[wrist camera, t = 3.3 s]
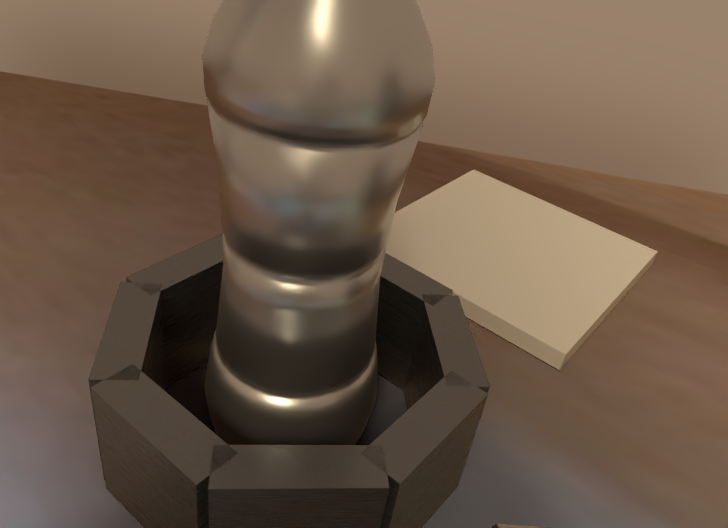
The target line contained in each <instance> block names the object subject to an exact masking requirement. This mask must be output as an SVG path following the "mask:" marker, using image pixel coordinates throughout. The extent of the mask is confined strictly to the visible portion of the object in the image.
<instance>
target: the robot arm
mask: <svg viewBox="0 0 728 528" xmlns="http://www.w3.org/2000/svg"><path fill="white" fill-rule="evenodd" d="M492 528H546V527H534V526H521V525H509V524H495V525H494V526H492Z"/></svg>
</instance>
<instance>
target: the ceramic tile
mask: <svg viewBox="0 0 728 528" xmlns="http://www.w3.org/2000/svg"><path fill="white" fill-rule="evenodd" d="M385 253H387V254H389V255H391V256H392V257H394V258H396V259H398V260H400V261H401V262H403V263H405V264H407V265H409V266H410V267H412V268H414V269H416V270H418V271H419V272H421V273H423V274H425V275H427V276H428V277H430V278H432V279H434V280H436V281H437V282H439V283H441V284H443V285H445V286H446V287H448V288H450V289H452V290H453V294H452V295H456V296H459V299H460V302H461V305H462V308H463V311H464V313H465V316H466V317H467V318H469V319H471V320H473V321H474V322H476V323H478V324H480V325H481V326H483V327H485V328H487V329H488V330H490V331H492V332H494V333H495V334H497V335H499V336H501V337H502V338H504V339H506V340H508V341H509V342H511V343H513V344H514V345H516V346H518V347H520V348H521V349H523V350H525V351H527V352H528V353H530V354H532V355H534V356H535V357H537V358H539V359H541V360H542V361H544V362H546V363H548V364H549V365H551V366H553V367H555V368H556V369H558V370H560V369H561V368H562V367H563V365H564V364H565V363H566V362H567V361H568V360H569V359H570V357H571V356H572V355H573V354H574V353H575V352H576V351H577V350H578V348H579V347H580V346H581V345H582V344H583V343H584V342H585V340H586V339H587V338H588V337H589V336H590V335H591V334H592V332H593V331H594V330H595V329H596V328H597V327H598V326H599V324H600V323H601V322H602V321H603V320H604V319H605V318H606V316H607V315H608V314H609V313H610V312H611V311H612V310H613V309H614V307H615V306H616V305H617V304H618V303H619V302H620V301H621V299H622V298H623V297H624V296H625V295H626V294H627V293H628V291H629V290H630V289H631V288H632V287H633V286H634V285H635V283H636V282H637V281H638V280H639V279H640V278H641V277H642V275H643V274H644V273H645V272H646V271H647V270H648V269H649V267H650V266H651V265H652V263H653V261H654V259H655V256H656V254H657V251H655V250H653V249H651V248H648V247H646V246H644V245H642V244H639V243H637V242H635V241H633V240H631V239H628V238H626V237H624V236H622V235H619V234H617V233H615V232H613V231H610V230H608V229H606V228H604V227H601V226H599V225H597V224H595V223H592V222H590V221H588V220H586V219H584V218H581V217H579V216H577V215H575V214H572V213H570V212H568V211H566V210H563V209H561V208H559V207H557V206H554V205H552V204H550V203H548V202H545V201H543V200H541V199H539V198H537V197H534V196H532V195H530V194H528V193H525V192H523V191H521V190H519V189H516V188H514V187H512V186H510V185H507V184H505V183H503V182H501V181H498V180H496V179H494V178H492V177H489V176H487V175H485V174H483V173H481V172H478V171H476V170H472V171H470V172H468V173H466V174H464V175H463V176H461V177H459V178H457V179H455V180H454V181H452V182H450V183H448V184H446V185H444V186H443V187H441V188H439V189H437V190H435V191H433V192H432V193H430V194H428V195H426V196H424V197H422V198H421V199H419V200H417V201H415V202H413V203H411V204H410V205H408V206H406V207H404V208H402V209H400V210H399V211H397V212H395V213H394V218H393V222H392V226H391V231H390V235H389V239H388V243H387V244H386V251H385Z"/></svg>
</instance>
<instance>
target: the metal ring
mask: <svg viewBox="0 0 728 528" xmlns="http://www.w3.org/2000/svg"><path fill="white" fill-rule="evenodd" d="M222 235H223V234H221V235H219V236H217V237H214V238H212V239H210V240H208V241H205V242H203V243H201V244H199V245H197V246H194V247H192V248H190V249H188V250H185V251H183V252H181V253H179V254H177V255H174V256H172V257H170V258H168V259H165V260H163V261H161V262H159V263H157V264H154V265H152V266H150V267H148V268H145V269H143V270H141V271H139V272H137V273H134V274H132V275H130V276H128V277H126V281H127V283H125V282H121V283H120V286H119V289H118V292H117V295H116V298H115V301H114V304H113V307H112V310H111V313H110V316H109V319H108V322H107V325H106V328H105V331H104V334H103V337H102V340H101V343H100V346H99V349H98V352H97V355H96V358H95V361H94V364H93V367H92V370H91V373H90V376H89V379H88V380H89V386H90V393H91V399H92V405H93V412H94V418H95V424H96V431H97V437H98V443H99V450H100V456H101V462H102V469H103V475H104V480H105V483H106V488H107V489H108V490H109V491H110V492H111V493H112V495H113V496H114V497H115V498H116V499H117V500H118V501H119V502H120V503H121V504H122V505H123V506H124V507H125V508H126V509H127V510H128V511H129V512H130V513H131V514H132V515H133V516H134V517H135V518H136V519H137V520H138V521H139V522H140V523H141V524H142V525H143V526H144V527H145V528H421V527H422V526H423V525H424V524H425V523H426V522H427V520H428V519H429V518H430V517H431V516H432V515H433V514H434V512H435V511H436V510H437V509H438V508H439V507H440V506H441V504H442V503H443V502H444V501H445V500H446V499H447V498H448V497H449V495H450V494H451V493H452V492H453V491H454V490H455V489H456V487H457V486H458V483H459V480H460V477H461V474H462V471H463V468H464V465H465V462H466V459H467V456H468V453H469V450H470V447H471V444H472V441H473V438H474V435H475V432H476V429H477V426H478V423H479V420H480V417H481V414H482V411H483V408H484V405H485V402H486V399H487V396H488V390H489V387H490V386H489V383H488V380H487V378H486V375H485V372H484V369H483V366H482V363H481V360H480V357H479V354H478V351H477V348H476V345H475V343H474V340H473V337H472V334H471V331H470V328H469V325H468V322H467V319H466V316H465V313H464V311H463V308H462V305H461V302H460V299H459V296H456V295H452V294H453V290H452V289H450V288H448V287H446V286H445V285H443V284H441V283H439V282H437V281H436V280H434V279H432V278H430V277H428V276H427V275H425V274H423V273H421V272H419V271H418V270H416V269H414V268H412V267H410V266H409V265H407V264H405V263H403V262H401V261H400V260H398V259H396V258H394V257H392V256H391V255H389V254H387V253H385V257H384V261H383V265H382V269H381V274H380V286H379V299H378V312H377V326H376V347H377V357H378V374H380V375H381V376H383V377H384V378H386V379H387V380H389V381H390V382H392V383H393V384H395V385H396V386H398V387H399V388H401V389H402V390H404V395H405V400H406V405H407V411H406V412H405V413H404V414H403V415H402V416H401V417H400V418H398V419H397V420H396V421H395V422H394V423H393V424H392V425H391V426H390V427H389V428H387V429H386V430H385V431H384V432H383V433H382V434H381V435H380V436H379V437H377V438H376V439H375V440H374V441H373V442H372V443H371V444H370V445H228V444H227V443H226V442H224V441H223V440H222V439H221V438H220V437H218V436H217V435H216V434H215V433H214V432H213V431H211V430H210V429H209V428H208V427H207V426H206V425H204V424H203V423H202V422H201V421H200V420H198V419H197V418H196V417H195V416H194V415H193V414H191V413H190V412H189V411H188V410H187V409H185V408H184V407H183V406H182V405H181V404H180V403H178V402H177V401H176V400H175V399H174V398H173V397H171V396H170V395H169V394H168V393H167V392H166V387H167V386H168V385H170V384H172V383H173V382H175V381H177V380H178V379H180V378H181V377H183V376H185V375H186V374H188V373H190V372H191V371H193V370H195V369H196V368H198V367H200V366H201V365H203V364H205V363H206V362H208V359H209V353H210V347H211V343H212V339H213V336H214V332H215V330H216V328H217V319H218V309H219V299H220V290H221V280H222V271H223V245H222Z"/></svg>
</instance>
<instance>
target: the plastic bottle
mask: <svg viewBox="0 0 728 528" xmlns="http://www.w3.org/2000/svg"><path fill="white" fill-rule="evenodd" d="M202 60H203V70H204V85H205V92H206V97H207V105H208V111H209V118H210V124H211V131H212V137H213V144H214V150H215V157H216V163H217V170H218V176H219V187H220V207H221V224H222V229H223V235H222V245H223V271H222V280H221V290H220V299H219V309H218V319H217V328H216V330H215V332H214V336H213V339H212V343H211V347H210V353H209V359H208V365H207V371H206V378H205V384H204V386H205V396H206V401H207V405H208V409H209V413H210V417H211V421H212V424H213V426H214V429H215V432H216V434H217V436H218V437H220V438H221V439H222V440H223V441H224V442H226V443H227V444H228V445H355V444H356V443H357V442H358V440H359V439H360V438H361V436H362V433H363V431H364V429H365V427H366V424H367V422H368V420H369V418H370V415H371V413H372V410H373V408H374V406H375V403H376V397H377V390H378V357H377V347H376V326H377V312H378V299H379V286H380V274H381V269H382V265H383V261H384V257H385V251H386V244H387V243H388V239H389V235H390V231H391V226H392V222H393V218H394V213H395V209H396V205H397V201H398V198H399V195H400V192H401V189H402V186H403V183H404V180H405V177H406V174H407V171H408V168H409V165H410V162H411V160H412V157H413V154H414V151H415V148H416V145H417V142H418V139H419V136H420V133H421V130H422V127H423V120H424V119H425V117H426V115H427V112H428V107H429V104H430V100H431V96H432V92H433V89H434V83H435V73H434V62H433V50H432V43H431V40H430V37H429V35H428V32H427V29H426V26H425V24H424V21H423V18H422V15H421V12H420V9H419V7H418V4H417V3H416V0H223V1H222V3H221V5H220V6H219V8H218V10H217V11H216V13H215V15H214V17H213V19H212V22H211V25H210V29H209V33H208V36H207V40H206V44H205V47H204V51H203V54H202Z"/></svg>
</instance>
